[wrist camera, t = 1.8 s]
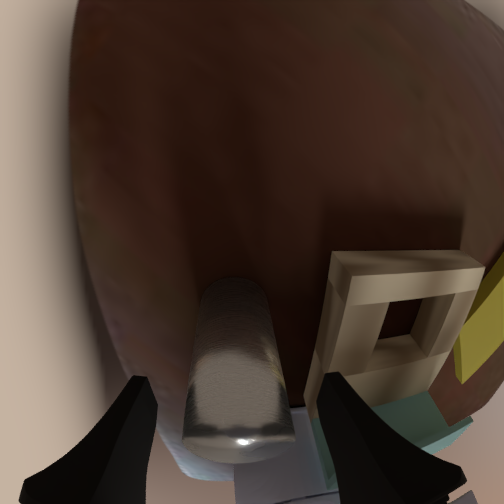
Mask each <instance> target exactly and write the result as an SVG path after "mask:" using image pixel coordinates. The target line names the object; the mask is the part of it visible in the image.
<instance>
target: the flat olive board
mask: <svg viewBox="0 0 504 504" xmlns="http://www.w3.org/2000/svg"><path fill="white" fill-rule="evenodd" d="M503 341H504V252H503V253H502V255H501V256H500V258H499V259H498V261H497V262H496V263H495V265H494V266H493V267H492V269H491V270H490V272H489V273H488V274H487V275H486V277H485V278H484V279H483V281H482V282H481V283H480V285H479V288H478V291H477V293H476V296H475V298H474V301H473V303H472V306H471V308H470V311H469V313H468V315H467V318H466V320H465V322H464V324H463V327H462V329H461V331H460V333H459V335H458V337H457V339H456V341H455V343H454V345H453V350H454V359H455V371H456V376H457V378H458V379H459V381H460V382H461V383H462V384H463V383H464V382H465V381H466V380H467V379H468V378H469V377H470V376H471V375H472V374H473V373H474V372H475V371H476V370H477V369H478V368H479V367H480V366H481V365H482V364H483V363H484V362H485V361H486V360H487V359H488V358H489V357H490V356H491V354H492V353H493V352H494V351H495V350H496V349H497V348H498V347H499V345H500V344H501V343H502V342H503Z"/></svg>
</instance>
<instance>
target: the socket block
mask: <svg viewBox="0 0 504 504" xmlns="http://www.w3.org/2000/svg"><path fill="white" fill-rule="evenodd" d="M484 270H485V266H483V265H482V264H480V263H479V262H477V261H476V260H474V259H473V258H472V257H470V256H469V255H467V254H466V253H464V252H463V251H461V250H400V251H332V254H331V261H330V267H329V274H328V280H327V286H326V292H325V298H324V304H323V309H322V315H321V320H320V325H319V330H318V335H317V340H316V344H315V349H314V353H313V358H312V362H311V367H310V371H309V375H308V379H307V383H306V387H305V391H304V395H303V396H304V400H305V404H306V408H307V412H308V416H309V419H310V423H311V422H312V419H315V418H319V415H318V410H317V404H316V400H317V397H318V394H319V390H320V387H321V384H322V381H323V378H324V374H325V373H330V372H337V371H339V372H340V373H341V374H342V376H343V377H344V378H345V379H346V380H347V382H348V383H349V384H350V385H351V386H352V388H353V389H354V390H355V391H356V392H357V393H358V395H359V396H360V397H361V398H362V399H363V400H364V401H365V402H366V403H367V405H368V406H369V407H370V408H371V407H375V406H379V405H383V404H386V403H390V402H393V401H397V400H400V399H404V398H407V397H410V396H413V395H416V394H419V393H422V392H425V391H427V390H428V388H429V387H430V385H431V384H432V382H433V381H434V379H435V377H436V376H437V374H438V372H439V371H440V369H441V367H442V365H443V364H444V362H445V360H446V358H447V356H448V355H449V353H450V351H451V349H452V347H453V345H454V343H455V341H456V339H457V337H458V335H459V333H460V331H461V329H462V327H463V324H464V322H465V320H466V318H467V315H468V313H469V311H470V308H471V306H472V303H473V301H474V298H475V296H476V293H477V291H478V288H479V285H480V282H481V279H482V277H483V274H484ZM418 298H423V300H422V303H421V306H420V308H419V311H418V314H417V317H416V319H415V322H414V324H413V327H412V329H411V332H410V334H407V335H402V336H397V337H391V338H386V339H380V340H377V339H378V336H379V333H380V330H381V327H382V324H383V321H384V318H385V315H386V312H387V309H388V306H389V302H393V301H402V300H410V299H418Z"/></svg>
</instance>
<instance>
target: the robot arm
mask: <svg viewBox="0 0 504 504" xmlns="http://www.w3.org/2000/svg"><path fill="white" fill-rule="evenodd" d="M316 404H317V410H318V415H319V420H320V424H321V427H322V430H323V433H324V436H325V439H326V442H327V445H328V448H329V452H330V455H331V458H332V461H333V464H334V468H335V473H336V478H337V484H338V488H336V489H332V490H327V488H326V484H325V479H324V475H323V471H322V467H321V463H320V459H319V455H318V451H317V447H316V443H315V439H314V435H313V431H312V427H311V423H310V419H309V416H308V412H307V408H306V407H298V408H290V411H291V416H292V421H293V425H294V430H295V435H296V440H295V442H294V444H293V445H292V447H291V448H289V449H288V450H287V451H285V452H284V453H282V454H280V455H278V456H276V457H273V458H270V459H266V460H262V461H258V462H251V463H233V465H234V483H235V484H234V485H235V500H236V504H447V501H448V500H449V496H448V494H449V493H451V492H453V491H454V490H456V489H457V488H459V487H460V486H462V485H463V484H465V483H466V482H467V479H466V477H465V475H464V473H463V471H462V469H461V467H460V466H458V465H455V464H452V463H449V462H447V461H443V460H442V459H439V458H437V457H435V456H433V455H431V454H429V453H428V452H426V451H424V450H422V449H421V448H419V447H417V446H416V445H414V444H412V443H411V442H410V441H408V440H407V439H405V438H404V437H402V436H401V435H400V434H399V433H397V432H396V431H395V430H394V429H392V428H391V427H390V426H389V425H388V424H387V423H386V422H384V421H383V420H382V419H381V418H380V417H379V416H378V415H377V414H376V413H375V412H374V411H373V410H372V409H371V408H370V407H369V406H368V405H367V403H366V402H365V401H364V400H363V399H362V398H361V397H360V396H359V395H358V393H357V392H356V391H355V390H354V389H353V388H352V386H351V385H350V384H349V383H348V382H347V380H346V379H345V378H344V377H343V376H342V374H341V373H340V372H339V371H337V372H330V373H325V374H324V378H323V381H322V384H321V387H320V390H319V394H318V397H317V400H316ZM157 409H158V404H157V401H156V399H155V396H154V394H153V391H152V389H151V386H150V383H149V381H148V378H147V377H145V376H135V375H133V376H132V377H131V379H130V380H129V381H128V383H127V385H126V386H125V387H124V389H123V390H122V392H121V393H120V394H119V396H118V397H117V399H116V400H115V401H114V403H113V404H112V405H111V407H110V408H109V409H108V411H107V412H106V413H105V415H104V416H103V417H102V418H101V419H100V421H99V422H98V423H97V424H96V425H95V426H94V428H93V429H92V430H91V431H90V432H89V433H88V434H87V435H86V436H85V437H84V438H83V439H82V440H81V441H80V442H79V443H78V444H77V445H76V446H75V447H74V448H72V449H71V450H70V451H69V452H68V453H67V454H65V455H64V456H63V457H62V458H60V459H59V460H57V461H56V462H54V463H53V464H51V465H50V466H49V467H47V468H45V469H44V470H42V471H40V472H38V473H36V474H34V475H33V476H31V477H29V478H27V479H25V480H24V483H23V486H22V490H21V493H20V497H19V502H20V503H21V504H146V501H145V500H146V474H147V467H148V461H149V456H150V452H151V447H152V442H153V437H154V433H155V428H156V420H157ZM448 504H478V503H477V501H476V498H475V496H474V494H473V492H472V490H470V491H469V492H467V493H465V494H464V495H462V496H461V497H459V498H457V499H456V500H454V501H452V502H451V503H448Z"/></svg>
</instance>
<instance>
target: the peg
mask: <svg viewBox="0 0 504 504" xmlns="http://www.w3.org/2000/svg"><path fill="white" fill-rule="evenodd" d="M295 440H296V435H295V430H294V425H293V421H292V416H291V411H290V406H289V401H288V396H287V391H286V387H285V382H284V377H283V372H282V367H281V363H280V358H279V353H278V348H277V343H276V339H275V334H274V329H273V324H272V320H271V315H270V310H269V306H268V301H267V297H266V294H265V293H264V291H263V290H262V288H261V287H260V286H259V285H257V284H256V283H254V282H253V281H251V280H248V279H245V278H241V277H227V278H223V279H220V280H218V281H215V282H214V283H212V284H211V285H210V286H209V287H208V288H207V289H206V290H205V291H204V293H203V295H202V298H201V303H200V309H199V315H198V321H197V327H196V334H195V341H194V347H193V354H192V361H191V369H190V376H189V384H188V391H187V400H186V408H185V417H184V426H183V436H182V442H183V444H184V446H185V447H186V448H187V449H188V450H189V451H190V452H192V453H193V454H195V455H197V456H199V457H202V458H205V459H208V460H212V461H217V462H223V463H251V462H258V461H262V460H266V459H270V458H273V457H276V456H278V455H280V454H282V453H284V452H285V451H287V450H288V449H289V448H291V447H292V445H293V444H294V442H295Z"/></svg>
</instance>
